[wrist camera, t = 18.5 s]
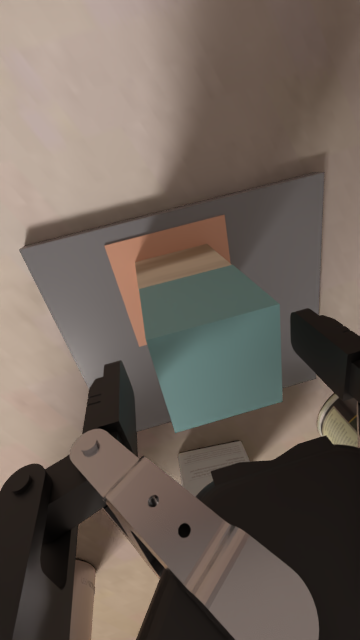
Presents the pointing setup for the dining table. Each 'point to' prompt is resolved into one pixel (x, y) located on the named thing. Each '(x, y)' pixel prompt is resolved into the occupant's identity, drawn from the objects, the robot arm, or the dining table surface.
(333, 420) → the coffee can
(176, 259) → the ash block
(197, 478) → the supplement box
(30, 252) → the baseplate
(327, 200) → the dining table surface
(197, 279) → the teal block
